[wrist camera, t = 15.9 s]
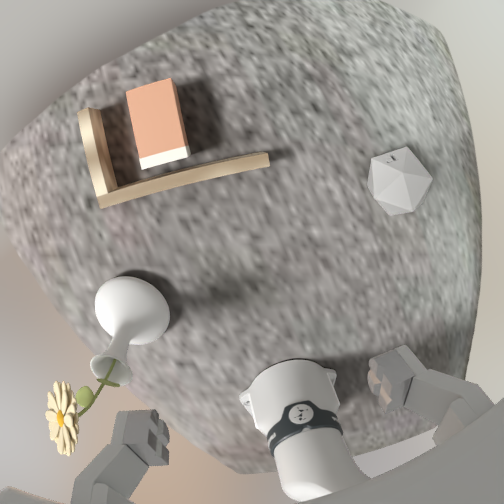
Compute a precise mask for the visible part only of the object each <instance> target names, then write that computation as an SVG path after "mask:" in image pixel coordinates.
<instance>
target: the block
mask: <svg viewBox="0 0 504 504" xmlns="http://www.w3.org/2000/svg"><path fill="white" fill-rule="evenodd" d="M126 95H127V101H128V106H129V111H130V116H131V121H132V126H133V131H134V135H135V140H136V144H137V149H138V153H139V157H140V159H139V160H140V164H141V168H142V170H143V169H146V168H149V167H153V166H156V165H160V164H164V163H167V162H171V161H175V160H178V159H182V158H186V157H189V156H190V155H191V153H190V148H189V145H188V141H187V136H186V132H185V127H184V122H183V118H182V113H181V108H180V103H179V98H178V93H177V88H176V85H175V84H174V82H173V81H172V79H171V78H168V79H165V80H161V81H158V82H154V83H151V84H147V85H144V86H141V87H138V88H135V89H132V90H129V91H126Z"/></svg>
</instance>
